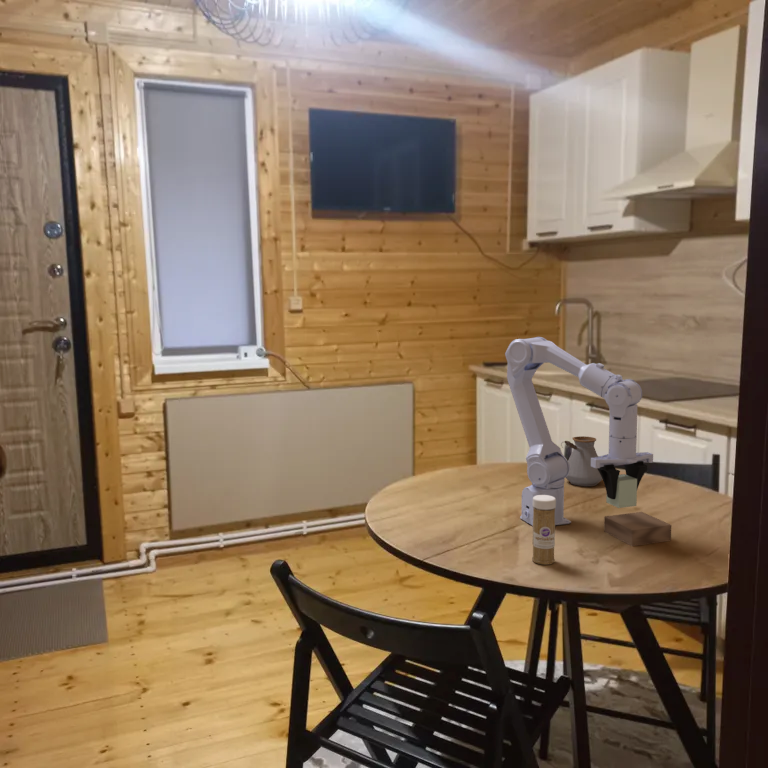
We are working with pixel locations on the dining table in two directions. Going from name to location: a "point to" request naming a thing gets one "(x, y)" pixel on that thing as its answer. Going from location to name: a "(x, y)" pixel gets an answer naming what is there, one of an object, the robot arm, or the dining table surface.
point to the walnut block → (637, 528)
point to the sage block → (624, 492)
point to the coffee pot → (582, 462)
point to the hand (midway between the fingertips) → (621, 496)
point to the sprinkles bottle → (543, 529)
